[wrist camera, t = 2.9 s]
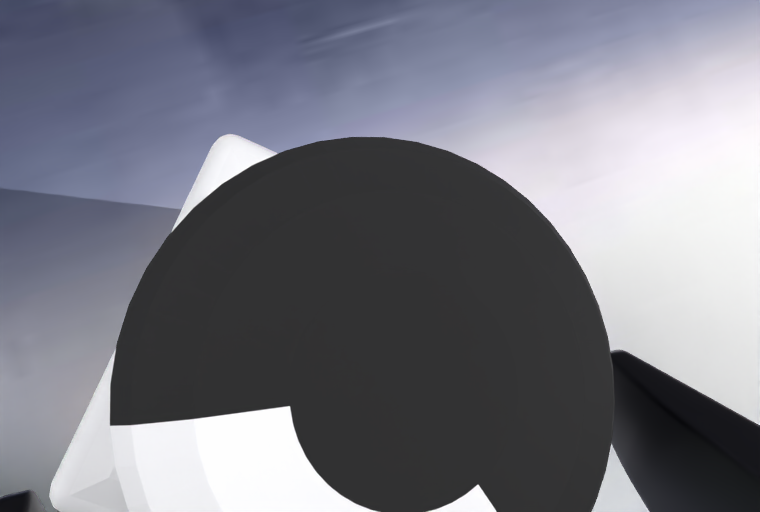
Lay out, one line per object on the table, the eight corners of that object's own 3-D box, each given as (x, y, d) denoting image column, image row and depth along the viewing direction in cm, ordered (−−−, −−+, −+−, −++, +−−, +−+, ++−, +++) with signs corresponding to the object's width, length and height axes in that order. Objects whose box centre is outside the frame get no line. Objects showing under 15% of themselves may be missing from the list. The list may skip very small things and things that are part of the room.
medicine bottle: (218, 209, 18) (224, -45, 7) (432, 300, 19) (748, 221, 8) (109, 446, 16) (-139, 660, 5) (352, 529, 18) (608, 852, 6)
